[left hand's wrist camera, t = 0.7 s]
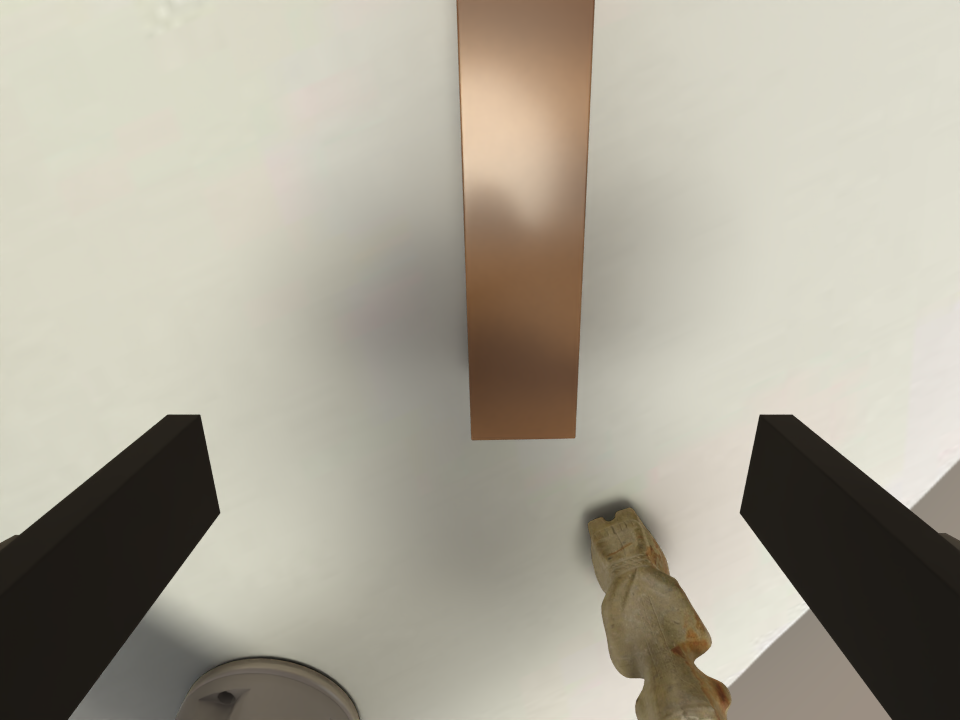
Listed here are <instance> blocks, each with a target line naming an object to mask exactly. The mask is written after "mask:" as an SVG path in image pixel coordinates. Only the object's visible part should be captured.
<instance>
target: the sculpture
mask: <svg viewBox="0 0 960 720" xmlns="http://www.w3.org/2000/svg"><path fill="white" fill-rule="evenodd" d="M588 529H589V533H590V537H591V555H592V562H593V566H594V570H595V574H596V577H597V580H598V582H599V584H600V586H601V588H602V590H603V591H604V592H605V593H606V595H605V597H604V600H603V603H602V606H601V609H602V618H603V623H604V627H605V631H606V636H607V642H608V649H609V654H610V658H611V660H612V663H613V664H614V666H615V668H616V669H617V670H618V672H619V673H620V674H622V675H623V676H625V677H627V678H643V679H644V680H645V681H644V686H643V690H642V691H641V693H640V695H639V697H638V698H637V700H636V705H635V711H636V716H637V719H638V720H727V711H728V709H729V707H730V705H731V695H730V692H729V690H728V688H727V687H726V686H725V685H724V684H723V683H722V682H720V681H718V680H716V679H713V678H711V677H709V676H707V675H705V674H704V673H703V672H701V671H700V670H699V669H698V668H697V667H696V665H695V664H694V661H695V659H696V658H698V657H699V656H701V655H702V654H704V653H705V652H706V651H707V650H708V649H709V648H710V647H711V644H712V641H711V637H710V634H709V632H708V631H707V629H706V628H705V626H704V624H703V623H702V621H701V619H700V618H699V616H698V614H697V613H696V611H695V610H694V608H693V607H692V605H691V603H690V601H689V599H688V598H687V596H686V594H685V592H684V591H683V589H682V588H681V587H680V585H679V583H678V581H677V580H676V579H675V578H673V577H671V576H670V574H669V568H668V564H667V560H666V558H665V556H664V554H663V552H662V550H661V549H660V547H659V545H658V544H657V542H656V541H655V539H654V538H653V536H652V535H651V533H650V532H649V531H648V530H647V529H646V528H645V526H644V524H643V523H642V521H641V520H640V518H639V517H638V516H637V514H636V513H635V511H634V510H633V509H632V508H626V509H623V510H619V511H617V512H616V514H615V518H614V519H613V520H612V521H606V520H605V519H604V518H603V517H600V518H597V519H594V520H592V521H590V522H589V523H588Z"/></svg>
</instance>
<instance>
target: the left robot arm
mask: <svg viewBox="0 0 960 720" xmlns="http://www.w3.org/2000/svg"><path fill="white" fill-rule="evenodd" d="M219 514H220V509H219V504H218V499H217V494H216V490H215V485H214V480H213V475H212V470H211V465H210V460H209V455H208V450H207V445H206V440H205V435H204V431H203V426H202V421H201V416H200V415H167V416H165V417H164V418H163V419H162V420H160V421H159V422H158V423H157V424H156V425H154V426H153V427H152V428H151V429H149V430H148V431H147V432H146V433H144V434H143V435H142V436H141V437H140V438H138V439H137V440H136V441H135V442H133V443H132V444H131V445H130V446H128V447H127V448H126V449H125V450H123V451H122V452H121V453H120V454H119V455H117V456H116V457H115V458H114V459H112V460H111V461H110V462H109V463H107V464H106V465H105V466H104V467H103V468H101V469H100V470H99V471H98V472H96V473H95V474H94V475H93V476H91V477H90V478H89V479H88V480H87V481H85V482H84V483H83V484H82V485H80V486H79V487H78V488H77V489H75V490H74V491H73V492H72V493H71V494H69V495H68V496H67V497H66V498H64V499H63V500H62V501H61V502H59V503H58V504H57V505H56V506H55V507H53V508H52V509H51V510H50V511H48V512H47V513H46V514H45V515H43V516H42V517H41V518H40V519H39V520H37V521H36V522H35V523H34V524H32V525H31V526H30V527H29V528H27V529H26V530H25V531H24V532H23V533H21V534H20V535H14V536H12V537H11V538H9V539H7V540H5V541H3V542H1V543H0V720H68V719H69V717H70V716H71V715H72V713H73V712H74V711H75V709H76V708H77V706H78V705H79V704H80V702H81V701H82V700H83V698H84V697H85V696H86V694H87V693H88V692H89V690H90V689H91V688H92V686H93V685H94V683H95V682H96V681H97V679H98V678H99V677H100V675H101V674H102V673H103V671H104V670H105V669H106V667H107V666H108V664H109V663H110V662H111V660H112V659H113V658H114V656H115V655H116V654H117V652H118V651H119V650H120V648H121V647H122V645H123V644H124V643H125V641H126V640H127V639H128V637H129V636H130V635H131V633H132V632H133V631H134V629H135V628H136V627H137V625H138V624H139V622H140V621H141V620H142V618H143V617H144V616H145V614H146V613H147V612H148V610H149V609H150V608H151V606H152V605H153V603H154V602H155V601H156V599H157V598H158V597H159V595H160V594H161V593H162V591H163V590H164V589H165V587H166V586H167V585H168V583H169V582H170V580H171V579H172V578H173V576H174V575H175V574H176V572H177V571H178V570H179V568H180V567H181V566H182V564H183V563H184V561H185V560H186V559H187V557H188V556H189V555H190V553H191V552H192V551H193V549H194V548H195V547H196V545H197V544H198V542H199V541H200V540H201V538H202V537H203V536H204V534H205V533H206V532H207V530H208V529H209V528H210V526H211V525H212V524H213V522H214V521H215V519H216V518H217V517H218V515H219ZM740 514H741V515H742V517H743V518H744V519H745V521H746V522H747V524H748V525H749V526H750V528H751V529H752V530H753V532H754V533H755V534H756V536H757V537H758V538H759V540H760V541H761V542H762V544H763V545H764V547H765V548H766V549H767V551H768V552H769V553H770V555H771V556H772V557H773V559H774V560H775V561H776V563H777V564H778V566H779V567H780V568H781V570H782V571H783V572H784V574H785V575H786V576H787V578H788V579H789V580H790V582H791V583H792V585H793V586H794V587H795V589H796V590H797V591H798V593H799V594H800V595H801V597H802V598H803V599H804V601H805V602H806V603H807V605H808V606H809V608H810V609H811V610H812V612H813V613H814V614H815V616H816V617H817V618H818V620H819V621H820V622H821V624H822V625H823V626H824V628H825V629H826V631H827V632H828V633H829V635H830V636H831V637H832V639H833V640H834V641H835V643H836V644H837V645H838V647H839V648H840V650H841V651H842V652H843V654H844V655H845V656H846V658H847V659H848V660H849V662H850V663H851V664H852V666H853V667H854V668H855V670H856V671H857V673H858V674H859V675H860V677H861V678H862V679H863V681H864V682H865V683H866V685H867V686H868V687H869V689H870V690H871V692H872V693H873V694H874V696H875V697H876V698H877V700H878V701H879V702H880V704H881V705H882V706H883V708H884V709H885V711H886V712H887V713H888V715H889V716H890V717H891V719H892V720H960V541H959V540H957V539H956V538H954V537H952V536H950V535H948V534H946V533H937V532H936V531H935V530H934V529H933V528H931V527H930V526H929V525H928V524H926V523H925V522H924V521H923V520H921V519H920V518H919V517H918V516H917V515H915V514H914V513H913V512H912V511H910V510H909V509H908V508H907V507H905V506H904V505H903V504H902V503H901V502H899V501H898V500H897V499H896V498H894V497H893V496H892V495H891V494H889V493H888V492H887V491H886V490H885V489H883V488H882V487H881V486H880V485H878V484H877V483H876V482H875V481H873V480H872V479H871V478H870V477H869V476H867V475H866V474H865V473H864V472H862V471H861V470H860V469H859V468H857V467H856V466H855V465H854V464H853V463H851V462H850V461H849V460H848V459H846V458H845V457H844V456H843V455H841V454H840V453H839V452H838V451H837V450H835V449H834V448H833V447H832V446H830V445H829V444H828V443H827V442H825V441H824V440H823V439H822V438H820V437H819V436H818V435H817V434H816V433H814V432H813V431H812V430H811V429H809V428H808V427H807V426H806V425H804V424H803V423H802V422H801V421H800V420H798V419H797V418H796V417H795V416H793V415H760V416H759V421H758V426H757V431H756V435H755V440H754V445H753V450H752V455H751V460H750V465H749V470H748V475H747V480H746V485H745V490H744V494H743V499H742V504H741V509H740ZM175 720H359V716H358V713H357V710H356V708H355V706H354V704H353V703H352V701H351V700H350V698H349V697H348V696H347V694H346V693H345V692H344V691H343V690H342V689H341V688H340V687H339V686H338V685H336V684H335V683H334V682H333V681H331V680H330V679H328V678H327V677H325V676H323V675H322V674H320V673H318V672H316V671H314V670H312V669H309V668H307V667H304V666H301V665H299V664H295V663H291V662H287V661H282V660H275V659H262V658H259V659H244V660H238V661H233V662H229V663H226V664H223V665H220V666H218V667H216V668H214V669H212V670H210V671H208V672H207V673H205V674H204V675H203V676H201V677H200V678H199V679H198V680H197V681H196V682H195V683H194V684H193V686H192V687H191V688H190V690H189V692H188V694H187V695H186V697H185V699H184V701H183V703H182V705H181V706H180V709H179V711H178V714H177V716H176V719H175Z"/></svg>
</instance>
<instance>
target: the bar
mask: <svg viewBox="0 0 960 720" xmlns="http://www.w3.org/2000/svg"><path fill="white" fill-rule="evenodd" d="M456 1H457V31H458V60H459V90H460V120H461V149H462V179H463V209H464V239H465V268H466V298H467V328H468V357H469V387H470V417H471V439H472V440H512V439H565V438H575V433H576V410H577V388H578V365H579V343H580V321H581V298H582V276H583V253H584V231H585V208H586V186H587V163H588V141H589V119H590V96H591V74H592V51H593V29H594V6H595V0H456Z"/></svg>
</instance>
